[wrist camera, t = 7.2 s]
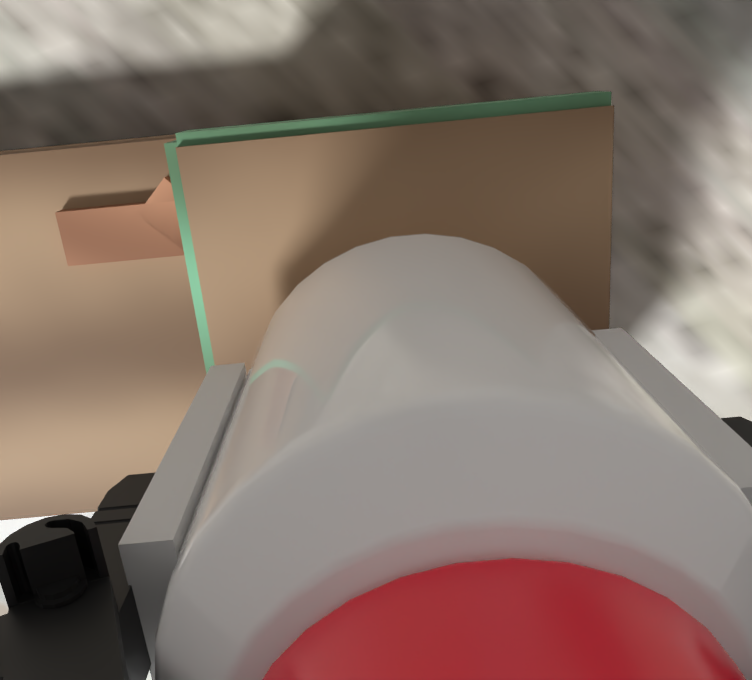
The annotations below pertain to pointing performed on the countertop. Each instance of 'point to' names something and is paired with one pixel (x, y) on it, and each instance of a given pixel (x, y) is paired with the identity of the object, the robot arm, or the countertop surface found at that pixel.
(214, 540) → the pill bottle
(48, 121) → the countertop surface
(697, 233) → the countertop surface
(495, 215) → the stand
